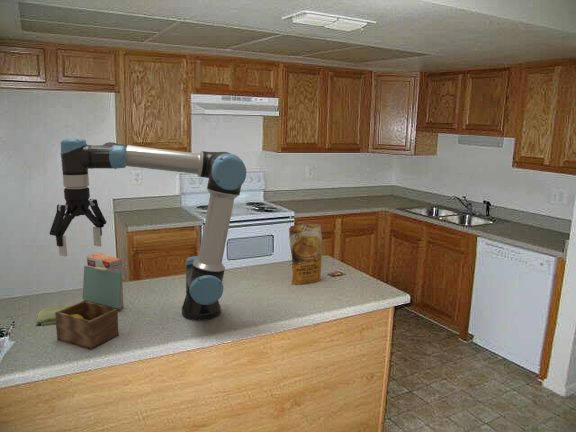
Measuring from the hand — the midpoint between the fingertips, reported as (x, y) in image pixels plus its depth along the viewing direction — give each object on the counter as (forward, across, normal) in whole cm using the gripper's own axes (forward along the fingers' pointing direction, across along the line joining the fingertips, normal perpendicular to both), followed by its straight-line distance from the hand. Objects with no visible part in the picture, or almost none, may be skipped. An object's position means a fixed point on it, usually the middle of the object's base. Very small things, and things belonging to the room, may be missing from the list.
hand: (81, 250), depth 155 cm
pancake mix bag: (+32, -92, +40) cm, 106 cm away
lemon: (+30, 0, -1) cm, 30 cm away
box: (+32, -1, 0) cm, 32 cm away
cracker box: (+32, -23, -16) cm, 43 cm away
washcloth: (+32, -8, -23) cm, 40 cm away
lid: (+15, -6, -1) cm, 16 cm away
